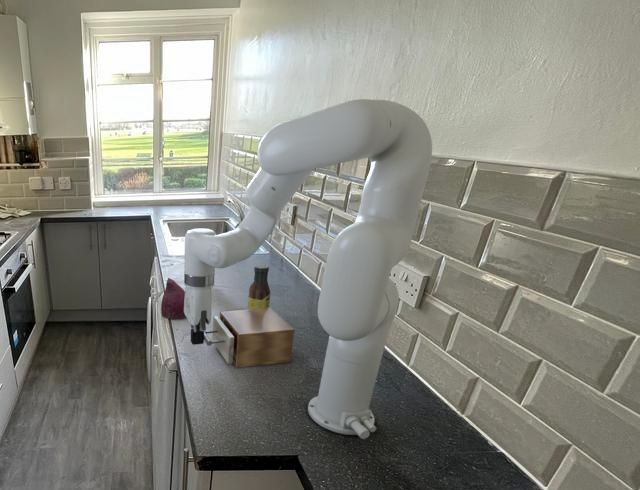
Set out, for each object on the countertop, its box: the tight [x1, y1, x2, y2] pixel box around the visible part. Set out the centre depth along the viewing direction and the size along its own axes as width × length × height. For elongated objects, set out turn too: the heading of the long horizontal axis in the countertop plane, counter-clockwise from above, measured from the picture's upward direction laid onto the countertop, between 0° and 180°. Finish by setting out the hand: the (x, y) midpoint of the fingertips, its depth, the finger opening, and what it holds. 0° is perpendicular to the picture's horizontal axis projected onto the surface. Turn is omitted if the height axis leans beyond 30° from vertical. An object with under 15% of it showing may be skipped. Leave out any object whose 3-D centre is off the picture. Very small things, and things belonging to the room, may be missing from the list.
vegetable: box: [160, 277, 187, 320], centre depth 134 cm, size 10×10×15 cm
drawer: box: [204, 315, 238, 365], centre depth 109 cm, size 18×14×8 cm
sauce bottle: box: [247, 264, 271, 309], centre depth 121 cm, size 6×6×20 cm
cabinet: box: [219, 306, 296, 368], centre depth 110 cm, size 15×15×10 cm
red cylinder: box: [232, 331, 237, 349], centre depth 109 cm, size 5×5×6 cm
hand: (197, 342), depth 109 cm, fingers closed
